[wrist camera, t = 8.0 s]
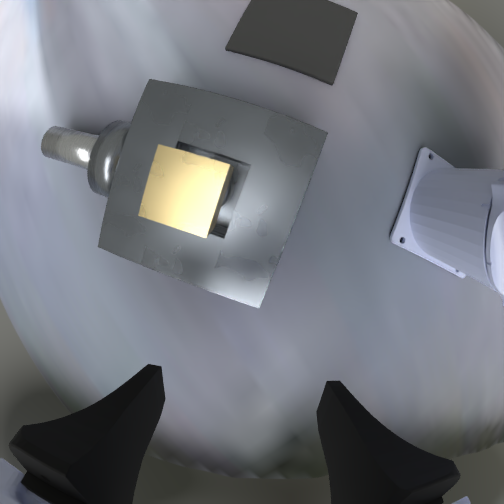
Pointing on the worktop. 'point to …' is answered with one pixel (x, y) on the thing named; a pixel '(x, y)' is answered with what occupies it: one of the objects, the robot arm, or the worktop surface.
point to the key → (186, 190)
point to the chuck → (211, 146)
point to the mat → (295, 35)
